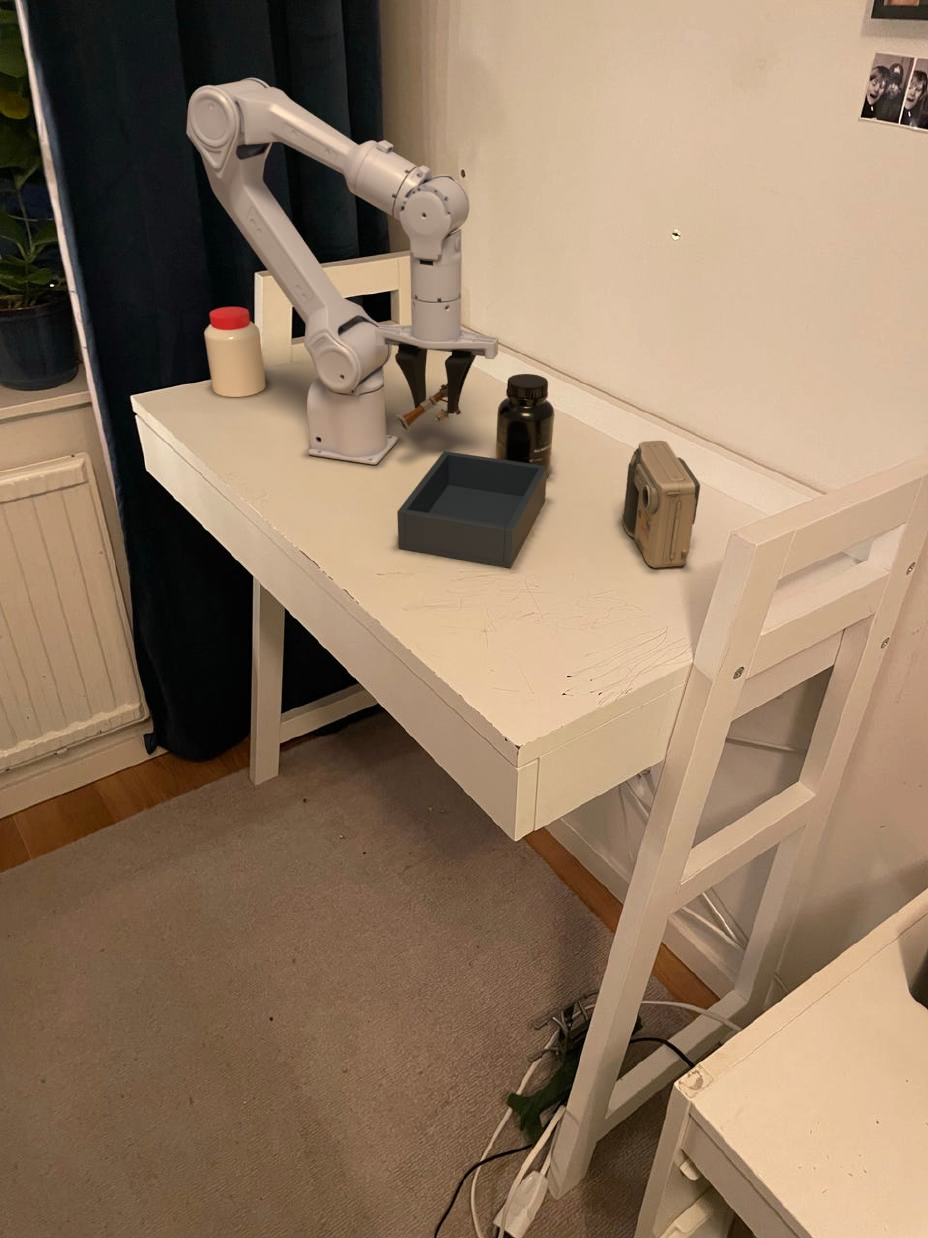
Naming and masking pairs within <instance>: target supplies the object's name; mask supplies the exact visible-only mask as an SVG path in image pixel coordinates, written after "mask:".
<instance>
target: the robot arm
mask: <svg viewBox="0 0 928 1238" xmlns="http://www.w3.org/2000/svg"><path fill="white" fill-rule="evenodd" d="M188 102H189V103H188V108H187V118H186V119H187V121H186V135H187V136H188V139H189V140H190V141H191V142H192V144H193V145H194V147H196V149H197V151H198V152H199V154H200V156H201V159H202V163H203V166H204V169H205V172H206V175H207V178H208V182H209V184H210V188H211V190H212V192H213V194H214V195H215V197H216V198H217V200H218V201H219V203H220V205H221V206H222V207H223V208H224V210H225V211H226V213H227V214H228V216H229V217H230V218H231V220H232V221H233V223H234V224H235V225H236V227H237V229H238V230H239V231H240V233H241V234H242V236H243V237H244V238H245V240H246V242H247V243H248V244H249V245H250V247H251V248H252V250H253V251H254V253H255V254H256V255H257V257H258V258H259V260H260V261H261V263H262V264H263V266H264V267H265V269H267V271H268V272H269V274H270V275H271V277H272V278H273V280H274V281H275V282H276V284H277V286H278V287H279V288H280V290H281V291H282V293H283V294H284V295H285V297H286V298H287V300H288V301H289V302H290V304H291V305H292V307H293V308H294V310H295V311H296V312H297V314H298V315H299V317H300V318H301V320H302V321H303V322H304V323H305V329H304V330H305V332H304V341H303V346H304V348H305V349H306V351H307V352H308V354H309V355H310V358H311V360H312V363H313V367H314V371H315V373H316V376H317V377H318V378H315V379H314V380H313V381H312V383H311V384H310V386H309V389H308V393H307V398H306V412H307V425H308V434H309V445H310V448H309V449H308V451H307V453H308V455H309V456H315V457H322V458H329V459H335V460H342V461H347V462H353V463H360V464H367V465H377V464H379V463H380V461H381V460H382V459H383V458H384V457H385V456H386V455H387V453H388V452H389V451H390V450H391V449H392V448H393V447H394V445H395V444H396V443H397V442H398V440H399V439H398V437H397V436H395V435H388V434H387V417H386V416H387V415H386V414H387V413H386V395H385V394H386V392H385V376H384V374H385V373H384V366H385V365H387V363H388V362H389V360H390V359H391V355H392V351H393V347H392V346H395V347H398V349H397V352H396V353H395V355H394V359H395V363H396V364H397V365H398V367H399V368H400V370H401V372H402V374H403V376H404V378H405V380H406V382H407V385H408V388H409V390H410V391H409V392H410V393H411V397H412V400H413V405H414V409H416V408H417V407H419V406H420V404H421V403H423V402H424V401H425V400H426V399H427V379H426V370H427V358H428V357H427V356H428V351H435V352H438V351H439V352H446V353H451V355H449V356H447V358H446V359H445V360H444V367H445V373H446V374H445V375H446V381H447V383H448V398H447V402H446V410H447V409H448V413H449V415H450V414H451V415H454V414H456V413H455V411H456V410H457V409H458V407H459V404H460V399H461V394H462V391H463V388H464V384H465V382H466V379H467V377H468V374H469V371H470V369H471V367H472V365H473V363H474V361H475V359H476V357H477V356H479V357H484V358H485V359H486V360H494V359H495V358H496V357H497V356H498V355H499V337H494V336H488V335H484V334H480V333H476V332H473V331H468V330H464V329H462V258H463V257H462V229H460V228H461V227H462V226H463V225H464V224H465V222H466V221H467V220H468V216H469V214H470V199H469V195H468V193H467V191H466V189H465V187H464V186H463V185H462V184H461V183H460V182H459V181H457V180H456V179H455V177H454V176H453V175H451V174H447V173H446V174H445V173H441V174H437V175H432V174H431V173H432V169H431V168H429V167H428V166H426V165H424V164H423V165H421V166H418V165H417V164H414V163H413V162H411V161H409V160H408V159H406V158H405V157H403V156H401V155H399V154H398V153H396V152H394V151H393V150H394V148H395V147H394V144H392V143H391V142H389V141H388V140H386V139H383V140H381V141H378V142H377V141H376V140H368V141H365V142H363V143H360V144H358V143H356V142H354V141H353V140H352V139H350V138H349V137H347V136H346V135H344V134H343V133H341V132H340V131H338V130H337V129H335V128H334V127H332V126H331V125H330V124H328V123H326V122H325V121H323V120H322V119H320V117H319V118H318V117H317V116H315V115H314V114H313V113H311V112H309V111H308V110H307V109H305V108H304V107H303V106H301V105H300V104H297V102H295V101H294V100H292V99H291V98H290V97H289V96H288V95H287V94H286V93H285V92H284V91H283V90H281V89H280V88H277V87H275V86H269V85H268V84H267V82H265V81H263V80H261V79H259V78H256V77H247V78H244V79H241V80H239V81H234V82H228V83H223V84H218V85H211V84H208V85H203V86H199V88H197V89H195V91H194V92H193V93H192V95H191V96H190V98H189V101H188ZM273 143H282V144H284V145H286V146H288V147H290V148H292V149H294V150H295V151H297V152H300V153H301V154H303V155H306V156H307V157H309V158H311V159H313V160H315V161H317V162H319V163H321V164H323V165H325V166H326V167H329V168H331V169H332V170H334V171H336V172H338V173H340V174H342V175H343V176H344V179H345V182H346V185H347V189H348V190H349V192H351V194H353V195H354V196H357V197H358V198H360V199H362V200H364V201H366V202H367V203H369V204H370V205H372V206H374V207H376V208H377V209H379V210H380V211H382V212H384V213H386V214H388V215H389V216H391V217H393V218H394V219H396V220H397V221H400V224H401V227H402V230H403V231H404V232H405V234H406V235H407V237H408V239H409V251H410V252H409V260H410V261H409V263H410V268H409V269H410V309H411V313H410V315H411V325H391V324H380V323H378V322H377V321H375V320H374V319H372V318H371V316H369V315H368V313H366V311H365V310H364V308H363V307H362V306H361V305H359V304H357V303H355V302H353V301H350V300H349V299H346V298H345V297H343V296H342V295H341V293H340V292H339V290H338V288H337V287H336V285H335V284H334V283H333V281H332V280H331V278H330V277H329V276H328V274H327V272H326V271H325V269H324V268H323V266H322V265H321V264H320V262H319V260H317V257H315V255H314V254H313V252H312V251H311V249H310V247H309V246H308V245H307V244H306V241H304V239H303V237H302V236H301V234H300V233H299V232H298V230H297V228H296V227H295V226H294V224H293V223H292V221H291V220H290V218H289V217H288V215H287V214H286V213H285V211H284V210H283V208H282V207H281V205H280V204H279V202H278V201H277V200H276V198H275V197H274V195H273V194H272V192H271V191H270V189H269V188H268V186H267V184H266V183H265V182H264V169H265V162H266V159H267V157H268V155H269V152H270V150H271V147H272V145H273ZM447 383H446V384H447Z"/></svg>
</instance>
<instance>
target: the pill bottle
mask: <svg viewBox="0 0 928 1238" xmlns="http://www.w3.org/2000/svg"><path fill="white" fill-rule="evenodd" d="M250 316H251V315H250V312H249V309H247V308H244V307H240V306H223V307H219V308H215V309H213V310H211V311H210V312H209V321H210V324H208V326H207V327H206V328H205V330H204V332H203V335H204V341H205V348H206V354H207V361H208V367H209V375H210V381H211V388H212V391H213V392H214V393H215V394H217V395H219V396H222V397H228V398H241V397H249V396H253V395H256V394H258V393H260V392H263V390H265V389H266V386H267V383H266V376H265V375H266V374H265V367H264V366H265V365H264V357H263V350H262V342H261V332H260V328H259V327H258V325H256V324H255V323H253V321H251V319H250V318H251V317H250Z"/></svg>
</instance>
